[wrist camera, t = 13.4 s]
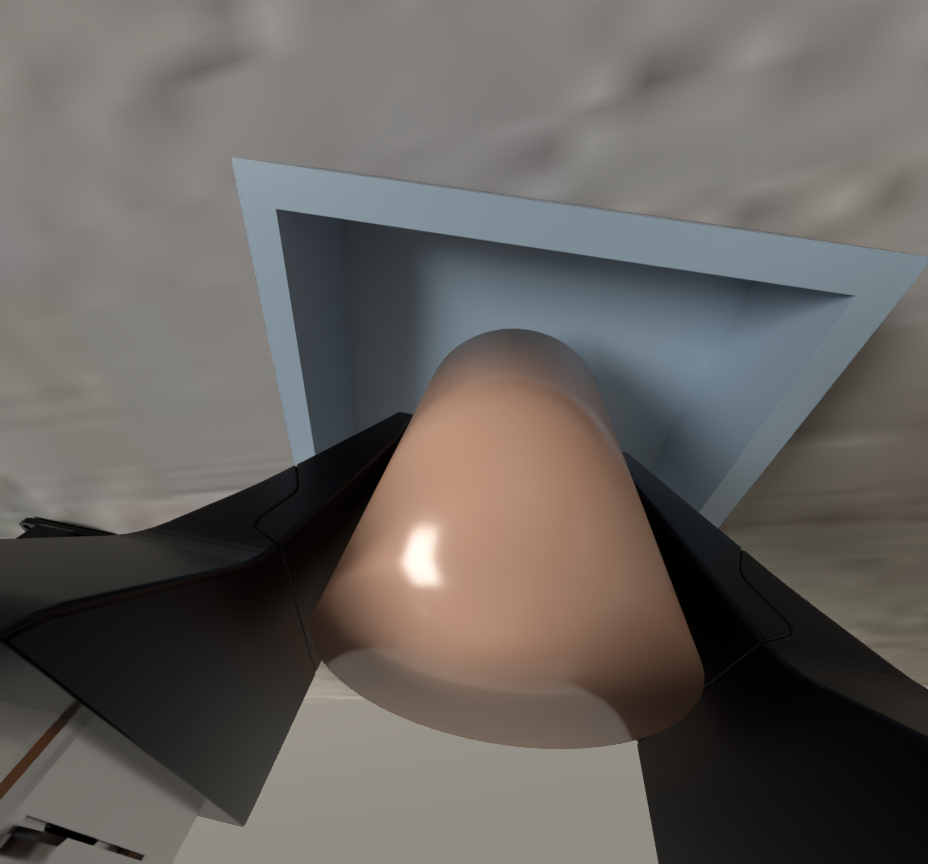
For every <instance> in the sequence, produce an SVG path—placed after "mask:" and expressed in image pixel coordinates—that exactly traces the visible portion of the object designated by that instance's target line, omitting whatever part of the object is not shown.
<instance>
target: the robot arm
mask: <svg viewBox="0 0 928 864" xmlns="http://www.w3.org/2000/svg"><path fill="white" fill-rule="evenodd" d="M412 417H413V414H410V413H404V412H398V413H396V414H394V415H392V416H390V417H388V418H386V419H384V420H382V421H380V422H378V423H376V424H374V425H373V426H371V427H369V428H367V429H365V430H363V431H361V432H359V433H357V434H355V435H353V436H351V437H349V438H347V439H345V440H343V441H341V442H339V443H337V444H335V445H334V446H332V447H330V448H328V449H326V450H324V451H322V452H320V453H318V454H316V455H314V456H312V457H310V458H308V459H306V460H304V461H302V462H300V463H298V464H297V467H296V466H292V467H290V468H288V469H287V470H285V471H283V472H281V473H279V474H277V475H275V476H272V477H270V478H268V479H266V480H264V481H262V482H260V483H258V484H256V485H253V486H251V487H249V488H247V489H244V490H242V491H240V492H238V493H235V494H233V495H231V496H228V497H226V498H224V499H221V500H219V501H216V502H214V503H212V504H209V505H207V506H204V507H202V508H200V509H197V510H195V511H193V512H190V513H188V514H185V515H183V516H181V517H178V518H176V519H174V520H171V521H169V522H166V523H164V524H161V525H158V526H156V527H153V528H149V529H146V530H142V531H138V532H133V533H128V534H120V535H109V534H105V533H100V532H96V531H91V530H86V529H81V528H76V527H71V526H67V525H62V524H57V523H52V522H47V521H42V520H38V519H33V518H26V519H24V520H23V521H21V522H20V523H19V525H20V526H21V527H22V528H23V529H24V530H25V533H23V534H22V535H20V536H19V537H17V538H16V539H0V864H172V863H173V861H174V859H175V857H176V856H177V854H178V852H179V850H180V848H181V846H182V844H183V842H184V840H185V838H186V837H187V835H188V833H189V831H190V829H191V827H192V825H193V823H194V821H195V819H196V818H197V816H201V817H205V818H209V819H213V820H217V821H221V822H225V823H229V824H233V825H237V826H244V825H245V824H246V821H247V819H248V818H249V815H250V813H251V811H252V809H253V807H254V805H255V803H256V801H257V799H258V797H259V794H260V792H261V790H262V788H263V786H264V784H265V781H266V779H267V777H268V775H269V773H270V771H271V768H272V766H273V764H274V762H275V760H276V758H277V755H278V753H279V751H280V749H281V747H282V744H283V743H284V740H285V738H286V736H287V734H288V732H289V729H290V727H291V725H292V723H293V721H294V719H295V717H296V714H297V712H298V710H299V708H300V706H301V704H302V702H303V699H304V697H305V695H306V693H307V691H308V689H309V686H310V684H311V682H312V680H313V678H314V676H315V671H317V669H318V667H319V665H320V662H321V660H322V659H321V657H320V656H319V654H318V652H317V651H316V648H315V645H314V643H313V640H312V634H311V621H312V615H313V613H314V611H315V609H316V606H317V604H318V602H319V600H320V598H321V596H322V594H323V592H324V590H325V588H326V586H327V584H328V582H329V580H330V578H331V577H332V575H333V573H334V571H335V569H336V567H337V565H338V563H339V561H340V559H341V557H342V555H343V553H344V551H345V549H346V547H347V545H348V543H349V541H350V539H351V537H352V535H353V533H354V531H355V529H356V527H357V525H358V523H359V521H360V519H361V517H362V515H363V513H364V511H365V509H366V507H367V505H368V503H369V502H370V500H371V498H372V496H373V494H374V492H375V490H376V488H377V486H378V484H379V482H380V480H381V478H382V476H383V474H384V472H385V470H386V468H387V466H388V464H389V462H390V460H391V458H392V456H393V454H394V452H395V450H396V448H397V446H398V444H399V442H400V440H401V438H402V436H403V434H404V432H405V430H406V429H407V427H408V425H409V423H410V421H411V419H412ZM622 453H623V455H624V458H625V461H626V463H627V466H628V469H629V471H630V474H631V477H632V479H633V482H634V484H635V487H636V490H637V492H638V495H639V498H640V500H641V503H642V506H643V508H644V511H645V514H646V516H647V519H648V522H649V524H650V527H651V530H652V532H653V535H654V538H655V540H656V543H657V546H658V548H659V551H660V553H661V556H662V559H663V561H664V564H665V567H666V569H667V572H668V575H669V577H670V580H671V583H672V585H673V588H674V591H675V593H676V596H677V599H678V601H679V604H680V607H681V609H682V612H683V614H684V617H685V620H686V622H687V625H688V628H689V630H690V633H691V636H692V638H693V641H694V644H695V646H696V649H697V652H698V654H699V657H700V660H701V663H702V666H703V670H704V688H703V691H702V694H701V697H700V699H699V701H698V702H697V704H696V705H695V707H694V708H693V709H692V710H691V711H690V712H689V713H688V714H687V715H686V716H685V717H684V718H683V719H681V720H680V721H678V722H677V723H675V724H674V725H672V726H670V727H669V728H666V729H664V730H662V731H660V732H658V733H656V734H653V735H650V736H647V737H644V738H641V739H638V740H637V741H638V742H639V743H638V744H637V746H638V751H639V757H640V763H641V768H642V774H643V779H644V784H645V791H646V796H647V801H648V807H649V813H650V818H651V823H652V830H653V835H654V840H655V846H656V852H657V857H658V863H659V864H928V689H926V688H925V687H923V686H922V685H920V684H918V683H917V682H915V681H914V680H912V679H911V678H909V677H908V676H906V675H905V674H904V673H902V672H901V671H899V670H898V669H897V668H895V667H894V666H893V665H891V664H890V663H889V662H887V661H886V660H885V659H883V658H882V657H881V656H879V655H878V654H877V653H875V652H874V651H873V650H871V649H870V648H869V647H867V646H866V645H865V644H863V643H862V642H861V641H859V640H858V639H857V638H855V637H854V636H853V635H851V634H850V633H849V632H847V631H846V630H845V629H843V628H842V627H841V626H840V625H838V624H837V623H836V622H834V621H833V620H832V619H830V618H829V617H828V616H826V615H825V614H824V613H822V612H821V611H820V610H818V609H817V608H816V607H814V606H813V605H812V604H810V603H809V602H808V601H807V600H805V599H804V598H803V597H801V596H800V595H799V594H797V593H796V592H795V591H794V590H792V589H791V588H790V587H788V586H787V585H786V584H785V583H783V582H782V581H781V580H780V579H778V578H777V577H776V576H775V575H773V574H772V573H771V572H770V571H769V570H767V569H766V568H765V567H764V566H762V565H761V564H760V563H759V562H758V561H756V560H755V559H754V558H753V557H752V556H750V555H749V554H748V553H747V552H746V551H741V547H740V546H738V545H737V544H736V543H735V542H734V541H732V540H731V539H730V538H729V537H728V536H726V535H725V534H724V533H723V532H722V531H721V530H719V529H718V528H717V527H716V526H715V525H713V524H712V523H711V522H710V521H709V520H707V519H706V518H705V517H704V516H703V515H701V514H700V513H699V512H698V511H697V510H695V509H694V508H693V507H692V506H691V505H689V504H688V503H687V502H686V501H685V500H683V499H682V498H681V497H680V496H679V495H677V494H676V493H675V492H674V491H673V490H672V489H670V488H669V487H668V486H667V485H666V484H664V483H663V482H662V481H661V480H660V479H658V478H657V477H656V476H655V475H654V474H652V473H651V472H650V471H649V470H648V469H646V468H645V467H644V466H643V465H642V464H640V463H639V462H638V461H637V460H636V459H634V458H633V457H632V456H631V455H630V454H629V453H627V452H623V451H622Z"/></svg>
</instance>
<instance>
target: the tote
mask: <svg viewBox="0 0 928 864" xmlns="http://www.w3.org/2000/svg"><path fill="white" fill-rule="evenodd" d="M231 159H232V164H233V169H234V174H235V179H236V184H237V189H238V193H239V198H240V203H241V208H242V213H243V218H244V222H245V227H246V232H247V237H248V242H249V247H250V252H251V256H252V261H253V266H254V271H255V276H256V281H257V285H258V290H259V295H260V300H261V305H262V310H263V315H264V319H265V324H266V329H267V334H268V339H269V344H270V348H271V353H272V358H273V363H274V368H275V373H276V378H277V382H278V387H279V392H280V397H281V402H282V407H283V411H284V416H285V421H286V426H287V431H288V436H289V441H290V445H291V450H292V455H293V460H294V465H295V466H296V467H297V464H298V463H300V462H302V461H304V460H306V459H308V458H310V457H312V456H314V455H316V454H318V453H320V452H322V451H324V450H326V449H328V448H330V447H332V446H334V445H335V444H337V443H339V442H341V441H343V440H345V439H347V438H349V437H351V436H353V435H355V434H357V433H359V432H361V431H363V430H365V429H367V428H369V427H371V426H373V425H374V424H376V423H378V422H380V421H382V420H384V419H386V418H388V417H390V416H392V415H394V414H396V413H398V412H404V413H410V414H413V415H414V413H415V411H416V409H417V407H418V405H419V403H420V401H421V399H422V397H423V395H424V393H425V391H426V389H427V387H428V385H429V383H430V381H431V379H432V377H433V375H434V373H435V371H436V369H437V368H438V366H439V365H440V363H441V362H442V361H443V359H444V358H445V357H446V356H447V355H448V354H449V353H450V352H451V351H452V350H454V349H455V348H456V347H457V346H458V345H460V344H462V343H463V342H465V341H466V340H468V339H470V338H472V337H475V336H477V335H479V334H482V333H486V332H489V331H494V330H500V329H526V330H532V331H536V332H541V333H544V334H546V335H549V336H552V337H554V338H556V339H558V340H560V341H561V342H563V343H565V344H566V345H568V346H569V347H570V348H572V349H573V350H574V351H575V352H576V353H577V354H578V355H579V356H580V357H581V358H582V359H583V360H584V362H585V363H586V364H587V366H588V367H589V369H590V370H591V372H592V374H593V376H594V378H595V381H596V384H597V386H598V389H599V392H600V394H601V397H602V400H603V402H604V405H605V408H606V410H607V413H608V415H609V418H610V421H611V423H612V426H613V429H614V431H615V434H616V437H617V439H618V442H619V445H620V447H621V450H622V451H623V452H627V453H629V454H630V455H631V456H632V457H633V458H634V459H636V460H637V461H638V462H639V463H640V464H642V465H643V466H644V467H645V468H646V469H648V470H649V471H650V472H651V473H652V474H654V475H655V476H656V477H657V478H658V479H660V480H661V481H662V482H663V483H664V484H666V485H667V486H668V487H669V488H670V489H672V490H673V491H674V492H675V493H676V494H677V495H679V496H680V497H681V498H682V499H683V500H685V501H686V502H687V503H688V504H689V505H691V506H692V507H693V508H694V509H695V510H697V511H698V512H699V513H700V514H701V515H703V516H704V517H705V518H706V519H707V520H709V521H710V522H711V523H712V524H713V525H715V526H716V527H717V528H719V527H720V525H721V524H722V523H723V522H724V520H725V519H726V518H727V517H728V515H729V514H730V513H731V512H732V510H733V509H734V508H735V507H736V505H737V504H738V503H739V502H740V500H741V499H742V498H743V497H744V495H745V494H746V493H747V492H748V490H749V489H750V488H751V486H752V485H753V484H754V483H755V481H756V480H757V479H758V478H759V476H760V475H761V474H762V473H763V471H764V470H765V469H766V468H767V466H768V465H769V464H770V463H771V461H772V460H773V459H774V458H775V456H776V455H777V454H778V453H779V451H780V450H781V449H782V448H783V446H784V445H785V444H786V442H787V441H788V440H789V439H790V437H791V436H792V435H793V434H794V432H795V431H796V430H797V429H798V427H799V426H800V425H801V424H802V422H803V421H804V420H805V419H806V417H807V416H808V415H809V414H810V412H811V411H812V410H813V409H814V407H815V406H816V405H817V404H818V402H819V401H820V400H821V398H822V397H823V396H824V395H825V393H826V392H827V391H828V390H829V388H830V387H831V386H832V385H833V383H834V382H835V381H836V380H837V378H838V377H839V376H840V375H841V373H842V372H843V371H844V370H845V368H846V367H847V366H848V365H849V363H850V362H851V361H852V360H853V358H854V357H855V356H856V354H857V353H858V352H859V351H860V349H861V348H862V347H863V346H864V344H865V343H866V342H867V341H868V339H869V338H870V337H871V336H872V334H873V333H874V332H875V331H876V329H877V328H878V327H879V326H880V324H881V323H882V322H883V321H884V319H885V318H886V317H887V315H888V314H889V313H890V312H891V310H892V309H893V308H894V307H895V305H896V304H897V303H898V302H899V300H900V299H901V298H902V297H903V295H904V294H905V293H906V292H907V290H908V289H909V288H910V287H911V285H912V284H913V283H914V282H915V280H916V279H917V278H918V277H919V275H920V274H921V273H922V271H923V270H924V269H925V268H926V266H927V265H928V257H927V256H921V255H915V254H908V253H902V252H895V251H889V250H883V249H876V248H870V247H863V246H857V245H851V244H844V243H838V242H831V241H825V240H819V239H812V238H806V237H799V236H793V235H786V234H779V233H772V232H765V231H758V230H751V229H744V228H737V227H730V226H722V225H715V224H708V223H701V222H694V221H687V220H680V219H673V218H666V217H659V216H652V215H645V214H638V213H631V212H624V211H617V210H610V209H603V208H596V207H589V206H582V205H575V204H568V203H561V202H554V201H547V200H540V199H533V198H526V197H519V196H512V195H505V194H498V193H491V192H484V191H477V190H470V189H463V188H456V187H449V186H442V185H435V184H428V183H421V182H414V181H407V180H400V179H392V178H385V177H378V176H371V175H364V174H357V173H350V172H343V171H336V170H329V169H322V168H314V167H306V166H298V165H290V164H282V163H274V162H266V161H257V160H249V159H241V158H233V157H231Z"/></svg>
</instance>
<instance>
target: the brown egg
mask: <svg viewBox="0 0 928 864" xmlns="http://www.w3.org/2000/svg"><path fill="white" fill-rule="evenodd" d="M311 634H312V640H313V643H314V645H315V648H316V651H317V652H318V654H319V656H320V657H321V659H322V660H323V662H324V663H325V664H326V666H327V667H328V668H329V669H330V670H331V671H332V673H333V674H335V675H336V676H337V677H338V678H339V679H340V680H341V681H342V682H343V683H344V684H346V685H347V686H348V687H350V688H351V689H352V690H354V691H355V692H356V693H358V694H359V695H361V696H363V697H364V698H366V699H367V700H369V701H371V702H373V703H374V704H376V705H378V706H380V707H381V708H384V709H385V710H387V711H390V712H392V713H394V714H396V715H398V716H400V717H403V718H405V719H408V720H410V721H413V722H415V723H418V724H421V725H423V726H426V727H429V728H432V729H435V730H439V731H442V732H446V733H449V734H452V735H456V736H460V737H465V738H469V739H474V740H478V741H484V742H489V743H495V744H501V745H509V746H518V747H527V748H543V749H577V748H592V747H602V746H608V745H615V744H621V743H625V742H630V741H633V740H638V739H641V738H644V737H647V736H650V735H653V734H656V733H658V732H660V731H662V730H664V729H666V728H669V727H670V726H672V725H674V724H675V723H677V722H678V721H680V720H681V719H683V718H684V717H685V716H686V715H687V714H688V713H689V712H690V711H691V710H692V709H693V708H694V707H695V705H696V704H697V702H698V701H699V699H700V697H701V694H702V691H703V688H704V670H703V666H702V663H701V660H700V657H699V654H698V652H697V649H696V646H695V644H694V641H693V638H692V636H691V633H690V630H689V628H688V625H687V622H686V620H685V617H684V614H683V612H682V609H681V607H680V604H679V601H678V599H677V596H676V593H675V591H674V588H673V585H672V583H671V580H670V577H669V575H668V572H667V569H666V567H665V564H664V561H663V559H662V556H661V553H660V551H659V548H658V546H657V543H656V540H655V538H654V535H653V532H652V530H651V527H650V524H649V522H648V519H647V516H646V514H645V511H644V508H643V506H642V503H641V500H640V498H639V495H638V492H637V490H636V487H635V484H634V482H633V479H632V477H631V474H630V471H629V469H628V466H627V463H626V461H625V458H624V455H623V453H622V450H621V447H620V445H619V442H618V439H617V437H616V434H615V431H614V429H613V426H612V423H611V421H610V418H609V415H608V413H607V410H606V408H605V405H604V402H603V400H602V397H601V394H600V392H599V389H598V386H597V384H596V381H595V378H594V376H593V374H592V372H591V370H590V369H589V367H588V366H587V364H586V363H585V362H584V360H583V359H582V358H581V357H580V356H579V355H578V354H577V353H576V352H575V351H574V350H573V349H572V348H570V347H569V346H568V345H566V344H565V343H563V342H561V341H560V340H558V339H556V338H554V337H552V336H549V335H546V334H544V333H541V332H536V331H532V330H526V329H500V330H494V331H489V332H486V333H482V334H479V335H477V336H475V337H472V338H470V339H468V340H466V341H465V342H463V343H462V344H460V345H458V346H457V347H456V348H455V349H454V350H452V351H451V352H450V353H449V354H448V355H447V356H446V357H445V358H444V359H443V361H442V362H441V363H440V365H439V366H438V368H437V369H436V371H435V373H434V375H433V377H432V379H431V381H430V383H429V385H428V387H427V389H426V391H425V393H424V395H423V397H422V399H421V401H420V403H419V405H418V407H417V409H416V411H415V413H414V415H413V417H412V419H411V421H410V423H409V425H408V427H407V429H406V430H405V432H404V434H403V436H402V438H401V440H400V442H399V444H398V446H397V448H396V450H395V452H394V454H393V456H392V458H391V460H390V462H389V464H388V466H387V468H386V470H385V472H384V474H383V476H382V478H381V480H380V482H379V484H378V486H377V488H376V490H375V492H374V494H373V496H372V498H371V500H370V502H369V503H368V505H367V507H366V509H365V511H364V513H363V515H362V517H361V519H360V521H359V523H358V525H357V527H356V529H355V531H354V533H353V535H352V537H351V539H350V541H349V543H348V545H347V547H346V549H345V551H344V553H343V555H342V557H341V559H340V561H339V563H338V565H337V567H336V569H335V571H334V573H333V575H332V577H331V578H330V580H329V582H328V584H327V586H326V588H325V590H324V592H323V594H322V596H321V598H320V600H319V602H318V604H317V606H316V609H315V611H314V613H313V615H312V621H311Z"/></svg>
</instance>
